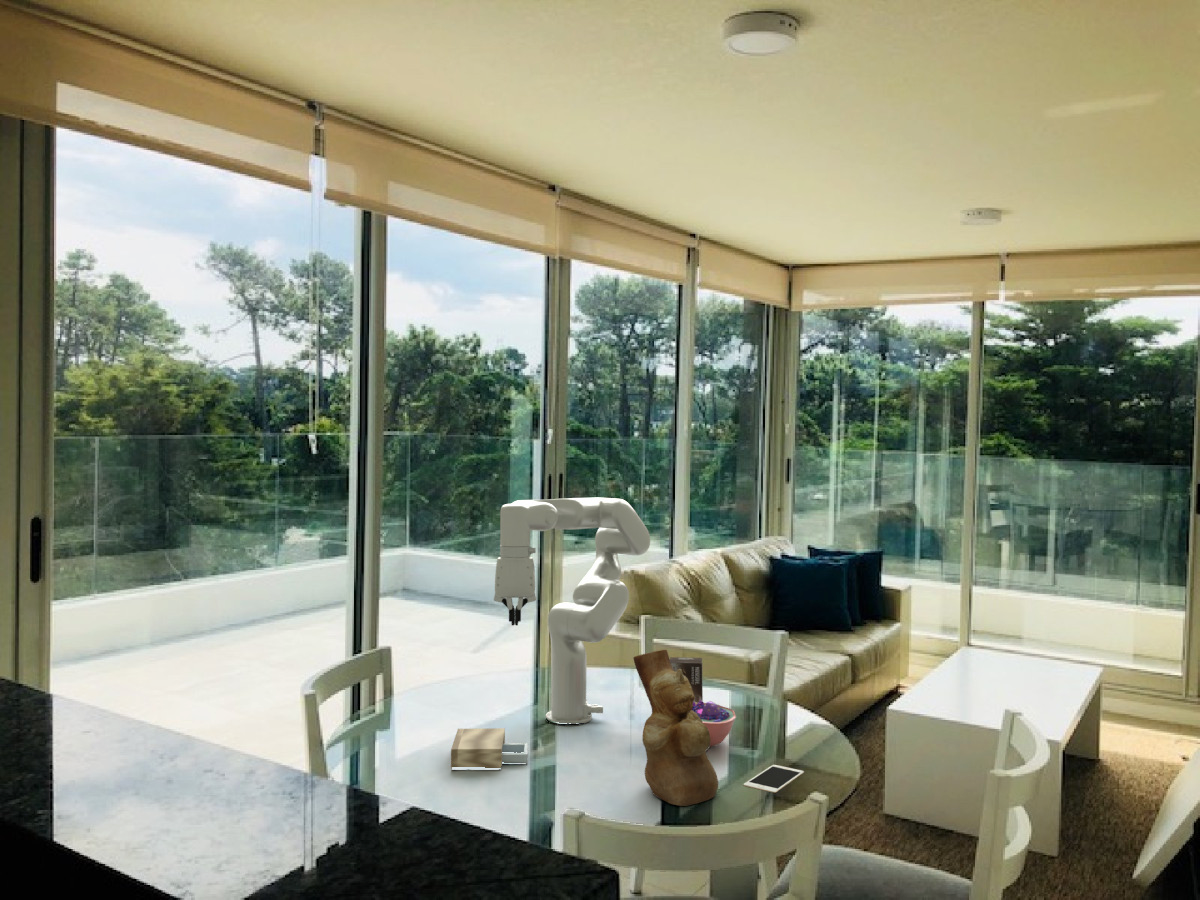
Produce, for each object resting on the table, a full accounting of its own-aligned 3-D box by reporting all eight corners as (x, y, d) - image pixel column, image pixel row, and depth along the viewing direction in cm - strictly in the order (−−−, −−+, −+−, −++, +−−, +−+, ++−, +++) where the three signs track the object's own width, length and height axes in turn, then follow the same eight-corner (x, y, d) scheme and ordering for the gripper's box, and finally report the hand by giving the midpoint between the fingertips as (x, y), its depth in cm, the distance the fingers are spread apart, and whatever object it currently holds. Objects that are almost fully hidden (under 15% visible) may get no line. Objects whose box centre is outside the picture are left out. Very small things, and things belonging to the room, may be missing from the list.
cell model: (683, 728, 259) (683, 685, 259) (749, 744, 246) (749, 699, 246) (645, 744, 246) (645, 699, 246) (712, 761, 233) (712, 714, 233)
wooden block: (504, 748, 242) (504, 728, 242) (501, 770, 226) (501, 748, 226) (457, 748, 241) (458, 728, 241) (451, 770, 226) (451, 749, 226)
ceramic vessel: (676, 813, 201) (677, 668, 201) (613, 782, 219) (613, 648, 218) (732, 797, 211) (734, 658, 210) (667, 768, 228) (668, 640, 228)
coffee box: (702, 715, 271) (703, 657, 271) (702, 722, 264) (703, 662, 264) (669, 714, 272) (669, 656, 271) (668, 721, 265) (669, 661, 265)
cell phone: (742, 787, 218) (742, 784, 218) (773, 766, 231) (773, 764, 231) (775, 794, 213) (775, 791, 213) (804, 773, 227) (804, 771, 227)
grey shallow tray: (527, 753, 238) (527, 743, 238) (527, 764, 230) (527, 754, 230) (469, 754, 238) (469, 743, 237) (467, 765, 230) (467, 754, 230)
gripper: (544, 550, 253) (544, 621, 254) (486, 550, 253) (486, 621, 253) (544, 554, 246) (544, 627, 246) (484, 554, 245) (484, 627, 246)
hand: (514, 624), depth 250 cm, fingers closed
